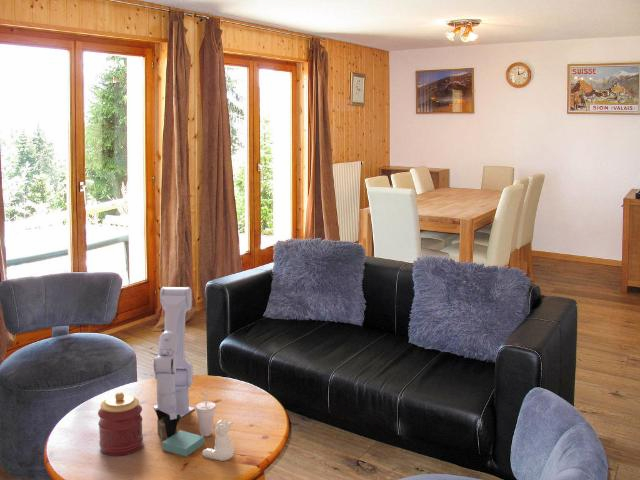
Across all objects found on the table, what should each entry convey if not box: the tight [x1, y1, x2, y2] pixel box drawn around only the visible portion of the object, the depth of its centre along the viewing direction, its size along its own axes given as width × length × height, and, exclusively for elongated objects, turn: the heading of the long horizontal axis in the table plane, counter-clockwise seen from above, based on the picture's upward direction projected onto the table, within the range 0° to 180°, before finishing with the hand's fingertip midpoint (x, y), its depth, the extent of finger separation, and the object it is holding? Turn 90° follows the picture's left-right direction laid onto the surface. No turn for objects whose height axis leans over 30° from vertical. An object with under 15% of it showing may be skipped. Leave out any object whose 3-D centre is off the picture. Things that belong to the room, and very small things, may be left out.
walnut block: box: [156, 419, 178, 442], centre depth 213 cm, size 5×5×5 cm
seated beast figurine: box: [201, 419, 235, 462], centre depth 200 cm, size 10×9×12 cm
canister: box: [97, 391, 144, 457], centre depth 205 cm, size 13×13×18 cm
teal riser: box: [161, 429, 205, 457], centre depth 206 cm, size 9×9×2 cm
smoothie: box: [195, 392, 217, 437], centre depth 214 cm, size 6×6×14 cm
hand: (167, 431), depth 213 cm, fingers open, 7 cm apart
